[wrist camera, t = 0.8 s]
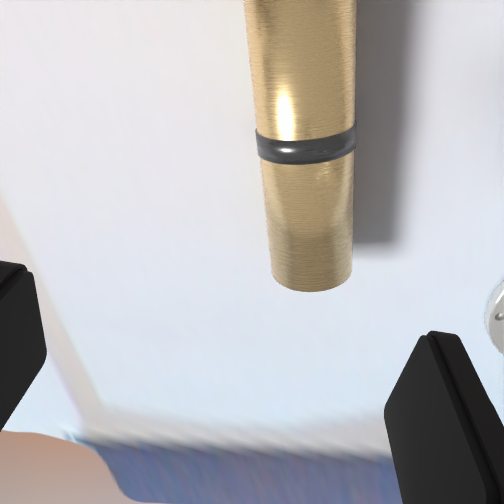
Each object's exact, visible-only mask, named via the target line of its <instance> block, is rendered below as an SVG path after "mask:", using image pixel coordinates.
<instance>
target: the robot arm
mask: <svg viewBox="0 0 504 504" xmlns="http://www.w3.org/2000/svg"><path fill="white" fill-rule="evenodd" d="M485 326H486V330H487V333H488V335H489V337H490V339H491V341H492V343H493V344H494V346H495V347H496V348H497V349H498V351H499V352H500V353H502V354H503V355H504V280H503V282H502V283H501V284H500V285H499V286H498V287H497V289H496V290H495V291H494V293H493V295H492V297H491V298H490V300H489V302H488V305H487V309H486V312H485ZM46 355H47V349H46V343H45V338H44V332H43V326H42V321H41V315H40V309H39V304H38V298H37V293H36V287H35V281H34V276H33V274H32V273H31V272H28V271H27V268H26V267H25V265H23V264H18V263H11V262H5V261H0V432H1V430H2V428H3V427H4V425H5V424H6V422H7V421H8V419H9V418H10V416H11V414H12V413H13V411H14V410H15V408H16V407H17V405H18V404H19V402H20V400H21V399H22V397H23V396H24V394H25V393H26V391H27V390H28V388H29V386H30V385H31V383H32V382H33V380H34V379H35V377H36V376H37V374H38V372H39V371H40V369H41V368H42V366H43V364H44V362H45V359H46ZM384 419H385V424H386V429H387V433H388V438H389V443H390V447H391V452H392V456H393V461H394V465H395V470H396V474H397V479H398V483H399V488H400V492H401V497H402V502H403V504H504V426H503V424H502V422H501V420H500V418H499V416H498V414H497V412H496V410H495V408H494V406H493V404H492V403H491V401H490V399H489V397H488V395H487V393H486V391H485V389H484V387H483V385H482V383H481V381H480V379H479V377H478V375H477V373H476V371H475V368H474V366H473V364H472V362H471V360H470V358H469V356H468V354H467V352H466V350H465V348H464V346H463V344H462V342H461V340H460V338H459V337H458V336H457V335H456V334H451V333H444V332H438V331H430V332H429V333H428V334H427V335H426V336H425V335H422V336H421V337H420V338H419V340H418V342H417V344H416V346H415V348H414V350H413V351H412V353H411V355H410V357H409V359H408V361H407V363H406V365H405V367H404V369H403V371H402V373H401V375H400V377H399V379H398V381H397V383H396V385H395V387H394V389H393V391H392V393H391V395H390V397H389V399H388V401H387V402H386V405H385V409H384Z"/></svg>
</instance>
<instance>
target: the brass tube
mask: <svg viewBox="0 0 504 504" xmlns="http://www.w3.org/2000/svg"><path fill="white" fill-rule="evenodd" d="M243 1H244V11H245V20H246V30H247V39H248V49H249V59H250V68H251V78H252V87H253V97H254V106H255V116H256V126H257V128H256V130H255V131H256V141H257V150H258V155H259V156H260V164H261V173H262V183H263V193H264V202H265V212H266V221H267V231H268V240H269V250H270V259H271V269H272V275H273V277H274V279H275V280H276V281H277V282H278V283H279V284H281V285H283V286H284V287H287V288H289V289H292V290H296V291H302V292H318V291H324V290H328V289H332V288H334V287H337V286H339V285H340V284H342V283H344V282H345V281H346V280H347V279H348V278H349V276H350V275H351V272H352V242H353V185H354V149H355V147H356V120H355V71H356V15H357V0H243Z"/></svg>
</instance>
